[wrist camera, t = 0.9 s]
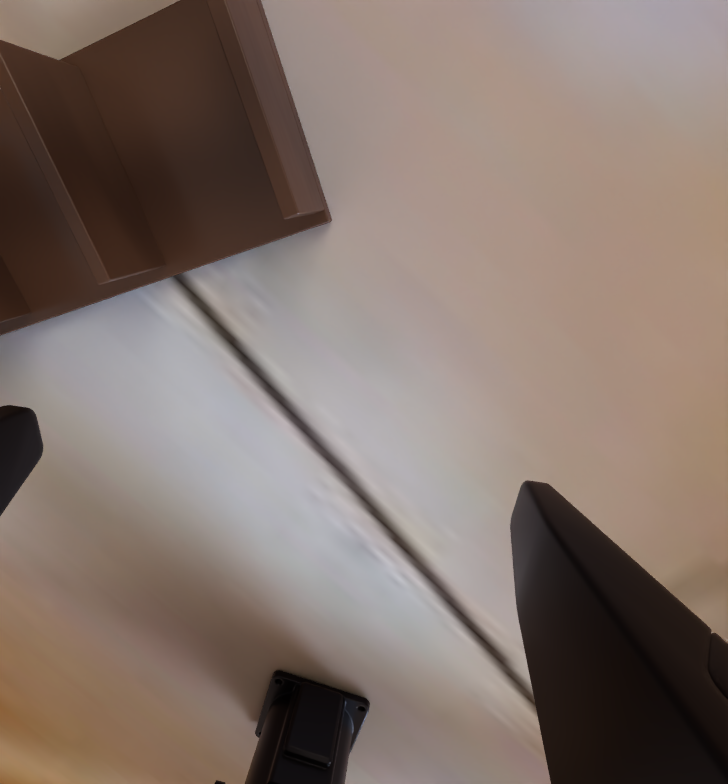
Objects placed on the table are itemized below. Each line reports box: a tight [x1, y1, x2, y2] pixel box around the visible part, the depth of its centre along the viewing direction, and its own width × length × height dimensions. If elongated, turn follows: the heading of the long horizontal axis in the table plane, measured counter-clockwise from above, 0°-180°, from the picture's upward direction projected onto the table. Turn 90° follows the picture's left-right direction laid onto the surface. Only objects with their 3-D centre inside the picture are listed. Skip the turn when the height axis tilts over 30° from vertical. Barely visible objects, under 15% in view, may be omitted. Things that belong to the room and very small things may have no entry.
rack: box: [0, 0, 332, 336], centre depth 20 cm, size 9×23×5 cm, turn 108°
